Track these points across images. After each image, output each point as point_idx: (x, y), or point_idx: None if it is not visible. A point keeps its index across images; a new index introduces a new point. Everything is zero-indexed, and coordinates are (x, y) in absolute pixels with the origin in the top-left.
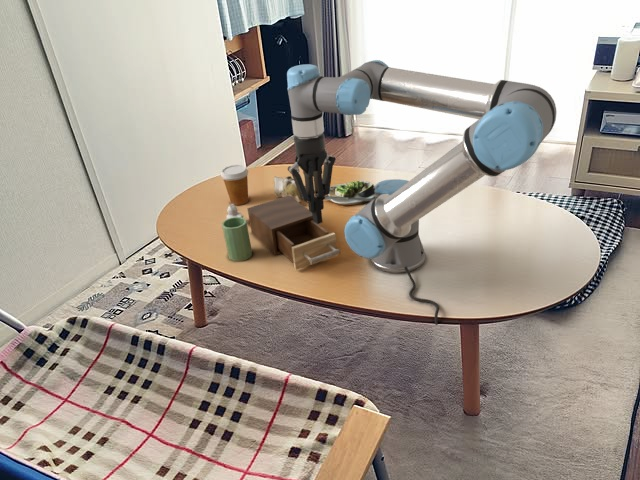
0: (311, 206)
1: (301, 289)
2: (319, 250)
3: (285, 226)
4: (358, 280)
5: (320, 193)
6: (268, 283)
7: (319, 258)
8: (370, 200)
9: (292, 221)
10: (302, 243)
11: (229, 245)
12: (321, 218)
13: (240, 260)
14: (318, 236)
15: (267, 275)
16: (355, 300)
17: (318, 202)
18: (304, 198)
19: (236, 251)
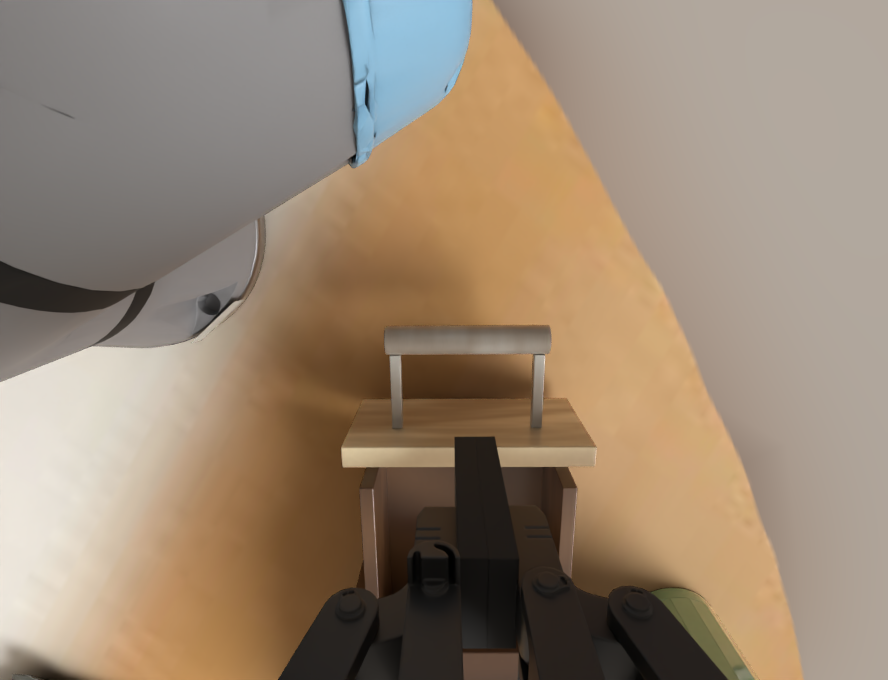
0: (548, 545)
1: (615, 269)
2: (446, 420)
3: (516, 644)
4: (380, 179)
5: (446, 621)
6: (695, 390)
7: (504, 330)
8: (31, 677)
9: (472, 659)
10: (532, 464)
11: (752, 669)
12: (460, 453)
13: (691, 592)
14: (384, 530)
15: (666, 444)
16: (475, 39)
17: (482, 545)
18: (673, 623)
19: (721, 629)
